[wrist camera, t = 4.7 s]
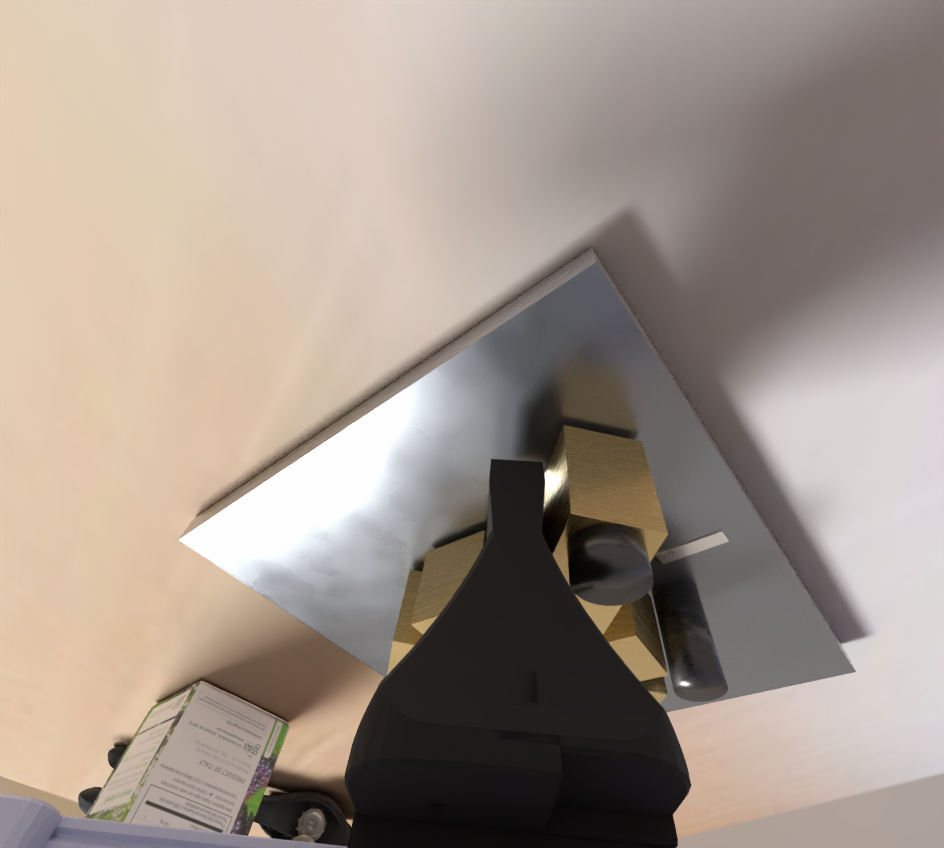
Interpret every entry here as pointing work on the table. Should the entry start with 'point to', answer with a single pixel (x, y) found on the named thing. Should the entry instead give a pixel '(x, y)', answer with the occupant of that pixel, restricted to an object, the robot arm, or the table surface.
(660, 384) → the grey metal base plate
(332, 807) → the can opener
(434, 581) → the brass block wheel
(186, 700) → the syrup box
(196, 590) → the table surface
